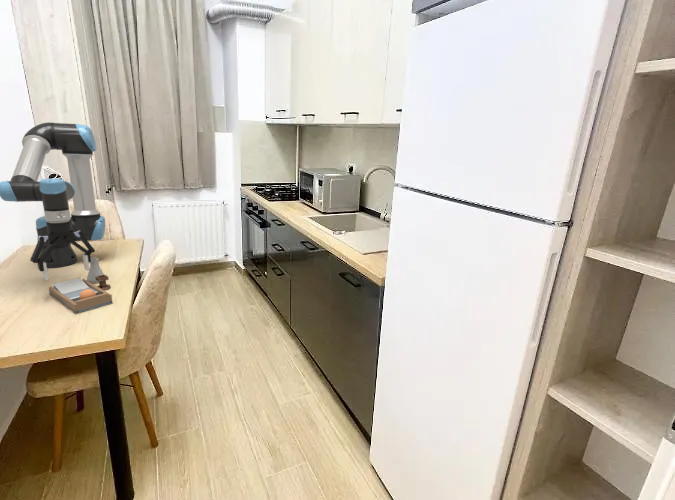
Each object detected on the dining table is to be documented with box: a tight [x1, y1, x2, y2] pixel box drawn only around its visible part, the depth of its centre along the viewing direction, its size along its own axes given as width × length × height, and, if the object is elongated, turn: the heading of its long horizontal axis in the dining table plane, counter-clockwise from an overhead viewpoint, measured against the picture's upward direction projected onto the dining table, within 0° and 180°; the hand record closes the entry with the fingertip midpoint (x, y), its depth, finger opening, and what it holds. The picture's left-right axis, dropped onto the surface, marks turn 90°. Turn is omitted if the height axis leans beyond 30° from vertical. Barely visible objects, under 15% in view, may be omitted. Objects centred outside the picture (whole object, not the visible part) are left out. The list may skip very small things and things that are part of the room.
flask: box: [85, 257, 105, 284], centre depth 154 cm, size 7×7×10 cm
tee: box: [95, 274, 111, 291], centre depth 147 cm, size 5×5×5 cm
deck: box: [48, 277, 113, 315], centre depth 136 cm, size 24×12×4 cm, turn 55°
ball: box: [80, 289, 96, 300], centre depth 132 cm, size 5×5×5 cm
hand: (67, 274), depth 140 cm, fingers open, 13 cm apart
